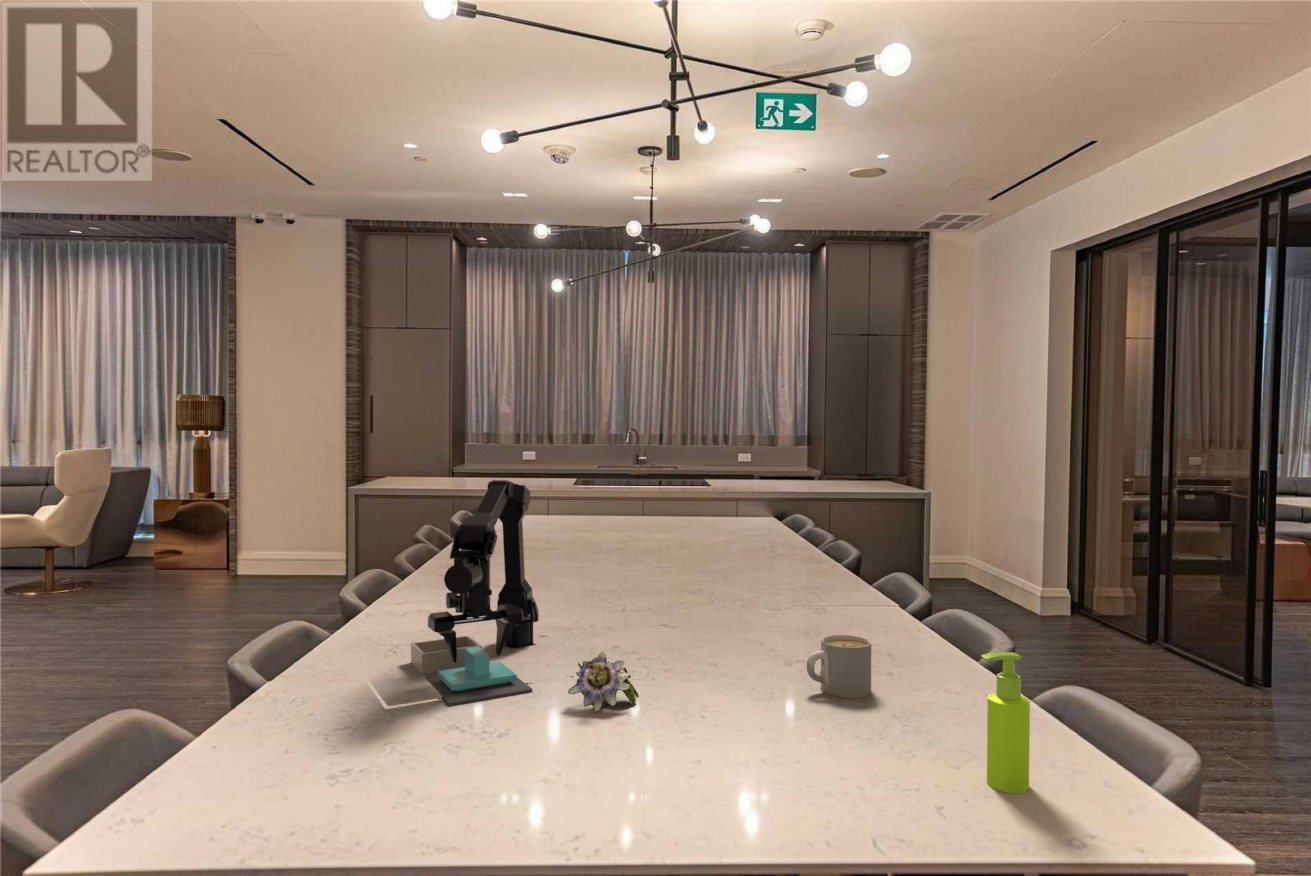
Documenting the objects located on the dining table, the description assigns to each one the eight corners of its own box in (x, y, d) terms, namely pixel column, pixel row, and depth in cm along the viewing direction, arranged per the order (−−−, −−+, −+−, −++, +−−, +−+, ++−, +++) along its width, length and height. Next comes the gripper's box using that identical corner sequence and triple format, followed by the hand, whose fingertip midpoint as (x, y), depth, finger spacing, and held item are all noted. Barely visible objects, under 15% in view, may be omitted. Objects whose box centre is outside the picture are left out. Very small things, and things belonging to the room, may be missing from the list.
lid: (499, 670, 182) (499, 641, 181) (516, 684, 172) (516, 653, 172) (438, 680, 175) (437, 650, 175) (452, 694, 166) (451, 662, 166)
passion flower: (598, 739, 159) (560, 692, 157) (599, 708, 170) (564, 664, 167) (647, 707, 158) (610, 659, 156) (645, 679, 168) (611, 634, 166)
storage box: (468, 656, 194) (467, 635, 194) (481, 668, 185) (481, 645, 185) (411, 665, 188) (410, 642, 188) (422, 677, 179) (422, 654, 179)
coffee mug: (862, 681, 176) (862, 634, 176) (877, 697, 166) (878, 647, 166) (799, 682, 175) (799, 635, 175) (811, 698, 165) (811, 648, 165)
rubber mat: (501, 667, 186) (501, 664, 186) (532, 691, 170) (532, 688, 170) (424, 679, 178) (424, 676, 178) (448, 706, 161) (448, 703, 161)
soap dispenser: (973, 777, 129) (974, 648, 129) (1016, 775, 130) (1017, 647, 129) (991, 794, 124) (993, 659, 123) (1036, 792, 124) (1038, 658, 124)
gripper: (506, 573, 185) (506, 643, 185) (420, 581, 176) (421, 655, 176) (524, 581, 175) (524, 656, 175) (434, 591, 166) (435, 669, 166)
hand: (476, 658), depth 174 cm, fingers open, 9 cm apart
